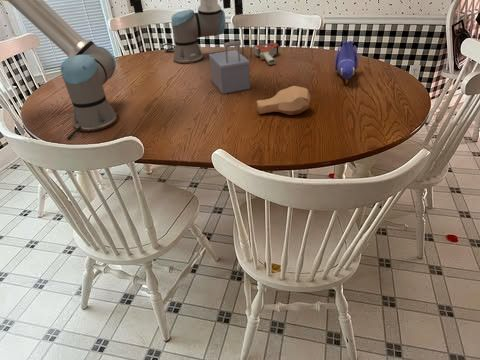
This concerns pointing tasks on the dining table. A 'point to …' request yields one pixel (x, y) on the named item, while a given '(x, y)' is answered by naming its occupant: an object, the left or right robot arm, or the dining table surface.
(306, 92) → the squash
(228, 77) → the chest
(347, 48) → the toy
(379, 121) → the dining table surface
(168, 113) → the dining table surface
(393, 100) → the dining table surface
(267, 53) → the tape dispenser
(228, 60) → the lid
